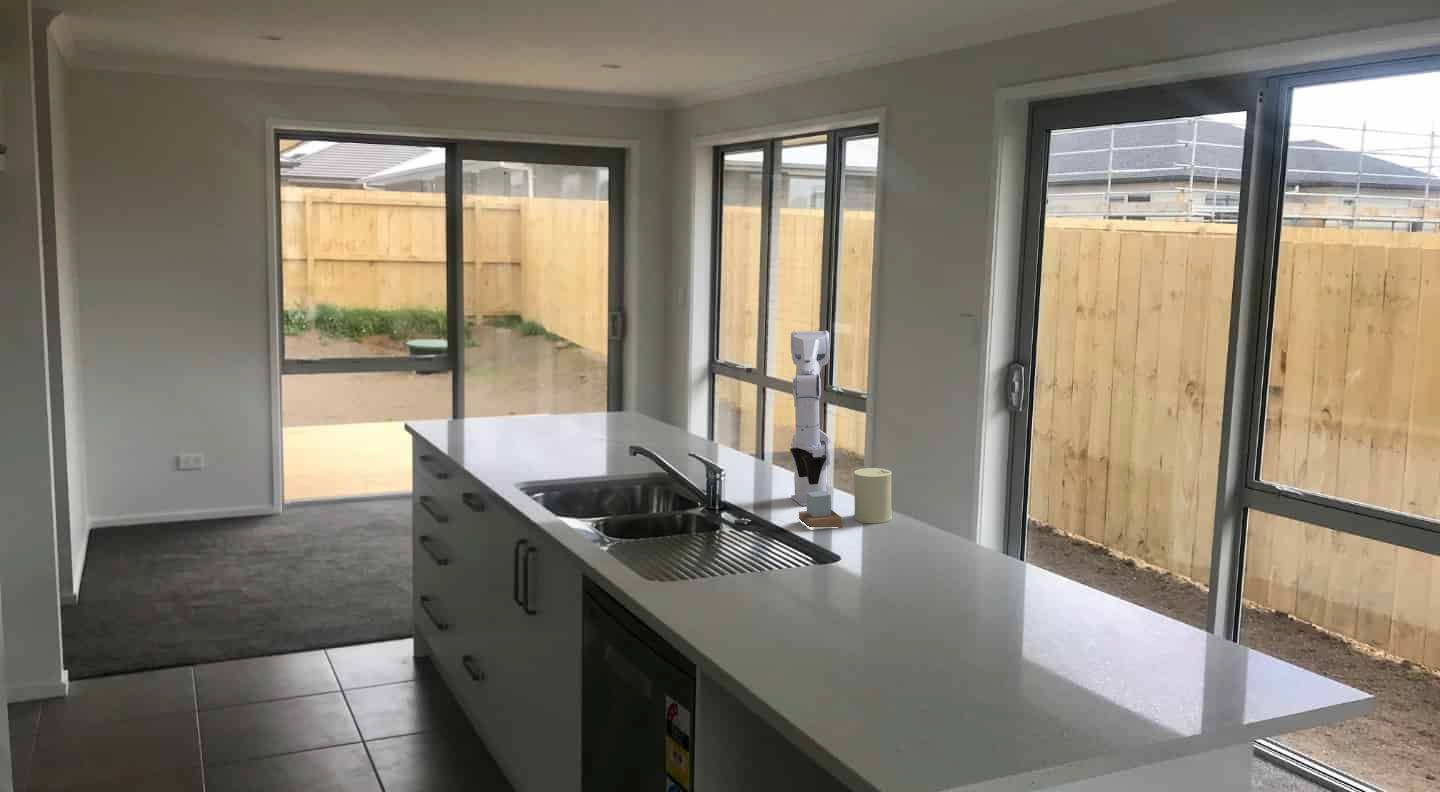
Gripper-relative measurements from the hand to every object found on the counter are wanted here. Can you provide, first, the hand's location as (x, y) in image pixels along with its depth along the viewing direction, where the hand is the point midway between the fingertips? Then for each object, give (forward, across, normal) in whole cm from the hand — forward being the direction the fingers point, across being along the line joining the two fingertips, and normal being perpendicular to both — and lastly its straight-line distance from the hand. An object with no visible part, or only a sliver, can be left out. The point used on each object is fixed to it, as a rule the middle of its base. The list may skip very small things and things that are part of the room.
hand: (808, 480), depth 273 cm
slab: (+11, +3, +2) cm, 11 cm away
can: (+11, +2, +16) cm, 19 cm away
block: (+8, +3, +2) cm, 8 cm away
